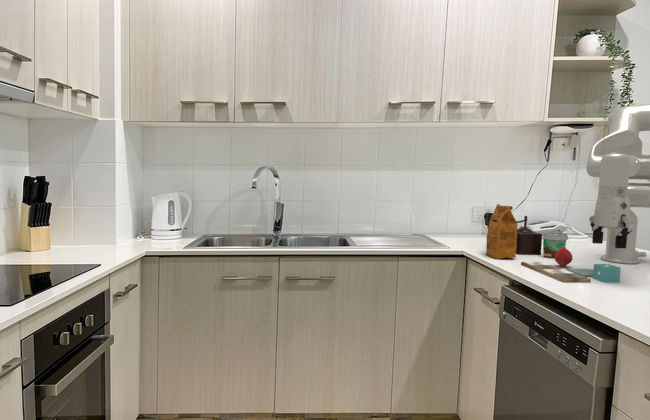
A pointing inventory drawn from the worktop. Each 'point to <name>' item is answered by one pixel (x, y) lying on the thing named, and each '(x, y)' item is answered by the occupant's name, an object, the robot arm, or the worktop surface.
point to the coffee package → (502, 233)
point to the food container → (553, 244)
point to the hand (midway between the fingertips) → (608, 245)
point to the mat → (582, 272)
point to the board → (555, 272)
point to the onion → (563, 256)
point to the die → (606, 273)
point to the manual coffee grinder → (528, 240)
